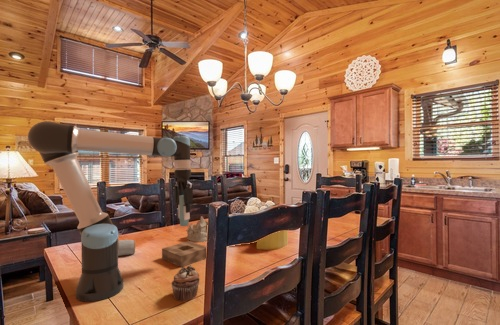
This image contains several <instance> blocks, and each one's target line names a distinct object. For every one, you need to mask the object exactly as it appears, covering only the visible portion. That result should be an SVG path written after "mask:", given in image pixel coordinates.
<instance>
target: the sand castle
mask: <svg viewBox="0 0 500 325" xmlns="http://www.w3.org/2000/svg"><path fill="white" fill-rule="evenodd" d="M199 219H200V220H197V222H196V224H193V223H190V224H189V225H188V226H187V229H186V234H187V235H186V239H187V241H189V240H190V241H191V242H194V243H205V242H208V241H207V225H208V220H206V219H204V217H203V215H202V216H201V215H200V218H199ZM204 241H205V242H204Z"/></svg>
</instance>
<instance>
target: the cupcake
mask: <svg viewBox="0 0 500 325" xmlns="http://www.w3.org/2000/svg"><path fill="white" fill-rule="evenodd" d="M199 284H200V274H199V273H198V272H197V271H196V268H194V267H193V266H192V264H189V265H187V267H185V266H184V267H180V269H179V270H178V271H177V273H176V274H175V275H173V280H172V282H171V283H170V285H171V288H172V289H171V290H172V294H173V298H174V299H175V300H176V301H179V302H188V301H189V300H192V299H195V298H196V296H197V295H198V290H199V289H198V288H199Z"/></svg>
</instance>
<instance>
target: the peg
mask: <svg viewBox="0 0 500 325" xmlns="http://www.w3.org/2000/svg"><path fill="white" fill-rule="evenodd" d="M183 205H185V204H184V196H183V195H180V196H179V208H180V219H179V226H180V227H189V226H190V224H189V223H190V222H189V221H190V219H188V220H184V206H183Z"/></svg>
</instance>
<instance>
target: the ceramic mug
mask: <svg viewBox="0 0 500 325" xmlns="http://www.w3.org/2000/svg"><path fill="white" fill-rule="evenodd" d="M135 252H136V240H135V239H118V257H123V256H127V255H134V254H135Z"/></svg>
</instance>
